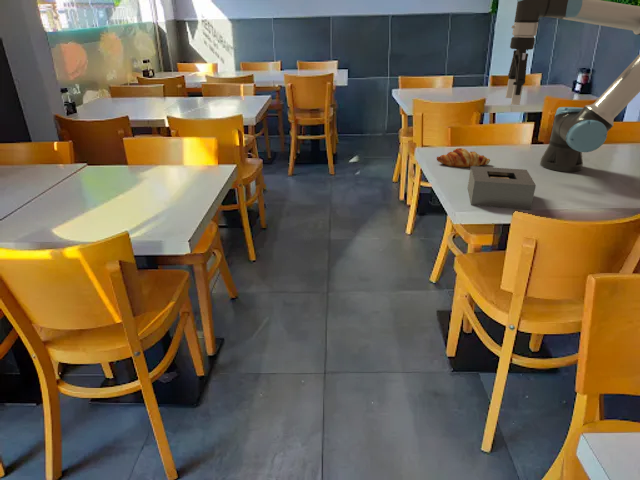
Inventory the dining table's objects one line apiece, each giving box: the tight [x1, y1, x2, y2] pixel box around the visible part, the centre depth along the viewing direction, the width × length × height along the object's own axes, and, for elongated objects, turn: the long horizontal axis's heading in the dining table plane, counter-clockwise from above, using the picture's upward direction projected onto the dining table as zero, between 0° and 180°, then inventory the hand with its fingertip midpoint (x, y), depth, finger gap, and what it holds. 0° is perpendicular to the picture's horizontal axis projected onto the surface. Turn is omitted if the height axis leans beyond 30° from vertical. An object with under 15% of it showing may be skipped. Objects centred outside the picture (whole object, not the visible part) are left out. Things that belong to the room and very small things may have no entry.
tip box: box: [467, 166, 537, 211], centre depth 158 cm, size 18×16×8 cm
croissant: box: [436, 147, 491, 168], centre depth 193 cm, size 21×10×8 cm, turn 90°
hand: (512, 101), depth 172 cm, fingers open, 13 cm apart
